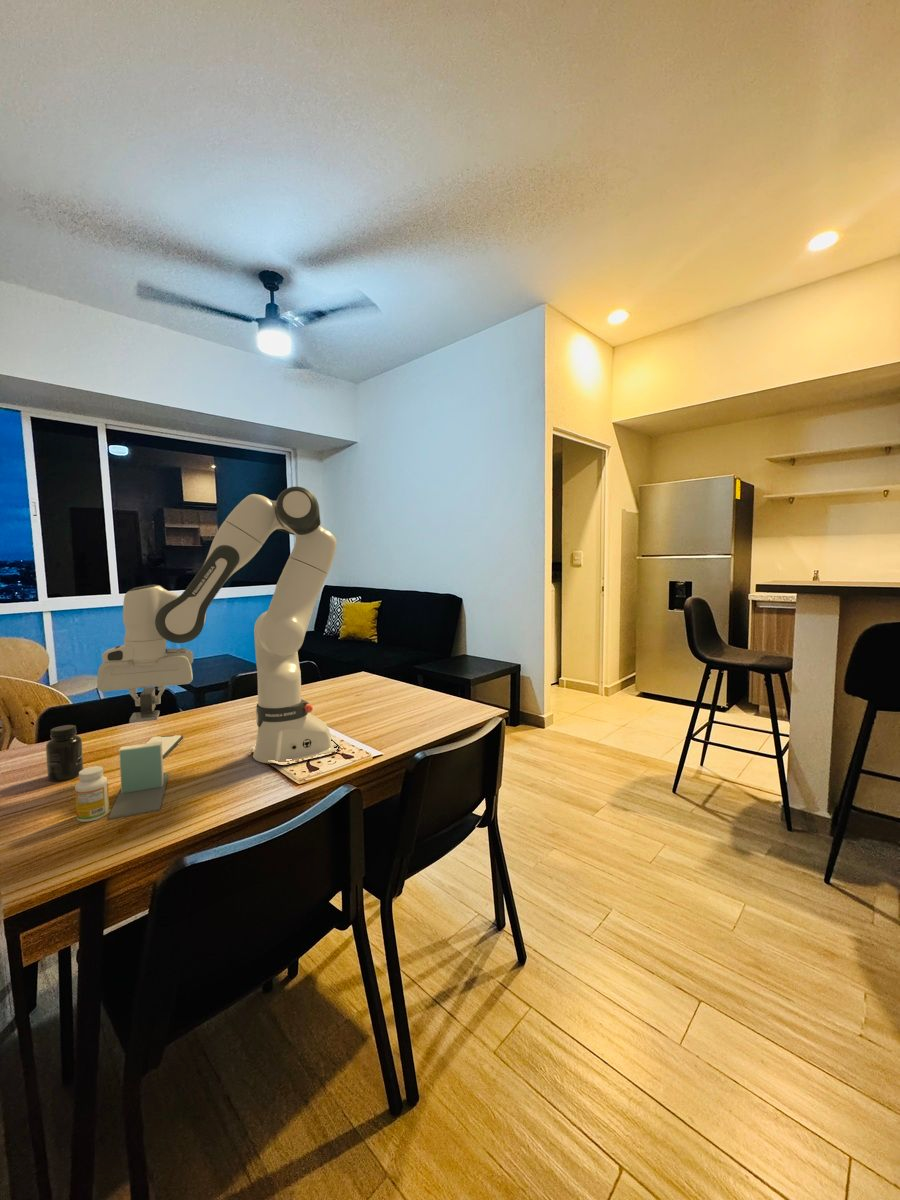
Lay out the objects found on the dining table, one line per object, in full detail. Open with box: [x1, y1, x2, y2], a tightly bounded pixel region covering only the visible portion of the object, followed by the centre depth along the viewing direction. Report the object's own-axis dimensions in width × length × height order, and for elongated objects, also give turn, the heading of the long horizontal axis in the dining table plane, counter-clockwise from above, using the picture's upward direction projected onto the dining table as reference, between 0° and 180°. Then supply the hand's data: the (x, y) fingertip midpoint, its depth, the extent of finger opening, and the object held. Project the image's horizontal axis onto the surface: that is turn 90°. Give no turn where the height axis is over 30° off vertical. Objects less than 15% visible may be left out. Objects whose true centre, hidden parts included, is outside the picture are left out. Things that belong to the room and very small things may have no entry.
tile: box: [118, 742, 164, 793], centre depth 110 cm, size 8×2×10 cm, turn 115°
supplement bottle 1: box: [45, 724, 84, 782], centre depth 117 cm, size 7×7×12 cm
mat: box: [107, 772, 170, 820], centre depth 108 cm, size 9×19×1 cm, turn 25°
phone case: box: [144, 734, 184, 760], centre depth 134 cm, size 9×2×16 cm
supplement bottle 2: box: [74, 765, 110, 823], centre depth 99 cm, size 5×5×10 cm
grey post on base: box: [128, 687, 161, 724], centre depth 119 cm, size 12×6×5 cm, turn 26°
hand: (148, 704), depth 121 cm, fingers closed on grey post on base, 2 cm apart
